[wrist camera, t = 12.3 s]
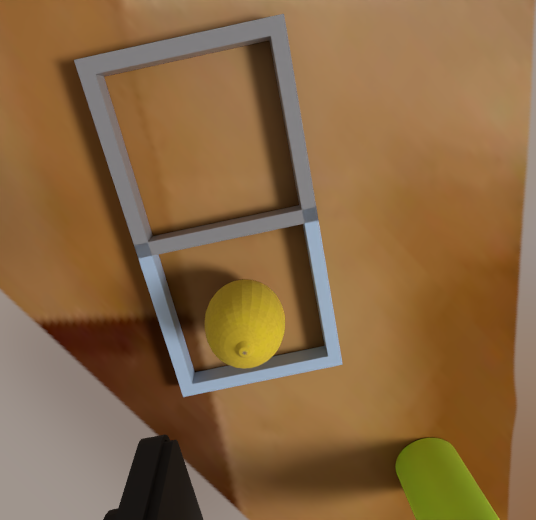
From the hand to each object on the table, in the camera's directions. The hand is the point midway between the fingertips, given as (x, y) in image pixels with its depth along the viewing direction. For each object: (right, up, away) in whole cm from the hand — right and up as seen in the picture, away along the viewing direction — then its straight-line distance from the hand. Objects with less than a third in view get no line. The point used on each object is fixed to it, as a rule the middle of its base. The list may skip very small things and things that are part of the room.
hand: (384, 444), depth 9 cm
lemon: (-4, +1, +23) cm, 24 cm away
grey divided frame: (-6, +7, +21) cm, 23 cm away
